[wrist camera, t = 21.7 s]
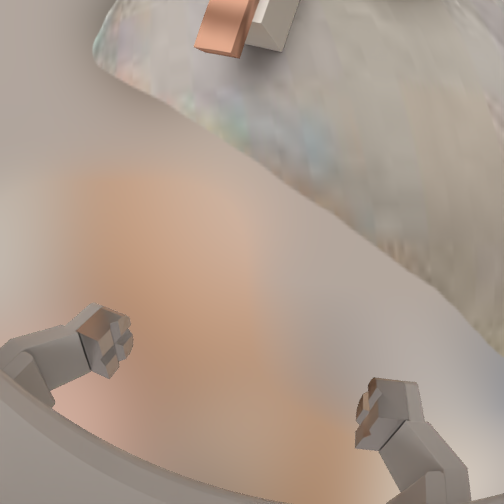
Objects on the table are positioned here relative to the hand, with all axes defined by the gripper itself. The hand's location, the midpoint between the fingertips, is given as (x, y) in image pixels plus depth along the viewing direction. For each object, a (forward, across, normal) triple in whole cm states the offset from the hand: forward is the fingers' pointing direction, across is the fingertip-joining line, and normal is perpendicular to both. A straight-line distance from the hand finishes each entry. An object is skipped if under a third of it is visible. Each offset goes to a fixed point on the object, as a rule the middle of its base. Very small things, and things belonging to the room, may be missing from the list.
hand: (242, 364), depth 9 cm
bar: (+25, +9, -23) cm, 35 cm away
